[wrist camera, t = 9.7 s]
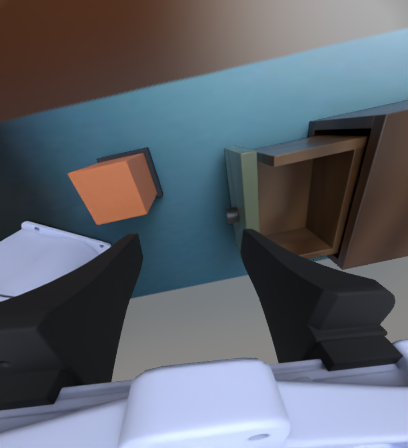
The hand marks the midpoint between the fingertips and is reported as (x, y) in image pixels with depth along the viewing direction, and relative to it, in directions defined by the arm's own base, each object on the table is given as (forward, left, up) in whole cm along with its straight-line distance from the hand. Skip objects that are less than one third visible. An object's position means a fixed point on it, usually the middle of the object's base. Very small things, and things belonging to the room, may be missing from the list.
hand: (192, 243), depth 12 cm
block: (-7, 0, -8) cm, 11 cm away
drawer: (+8, +4, -9) cm, 12 cm away
